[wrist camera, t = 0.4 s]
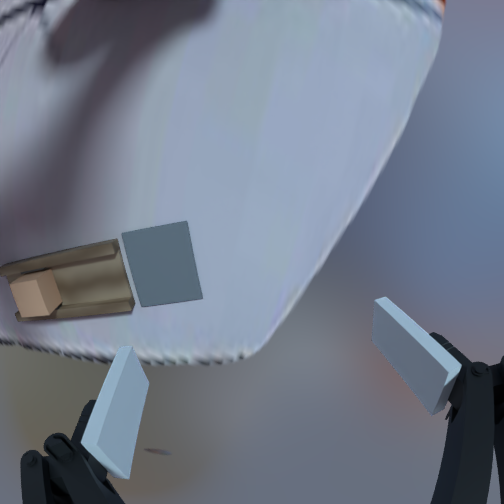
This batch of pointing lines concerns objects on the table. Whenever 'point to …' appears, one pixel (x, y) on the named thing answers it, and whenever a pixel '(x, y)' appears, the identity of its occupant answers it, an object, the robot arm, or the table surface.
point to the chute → (81, 279)
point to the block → (36, 293)
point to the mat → (163, 264)
